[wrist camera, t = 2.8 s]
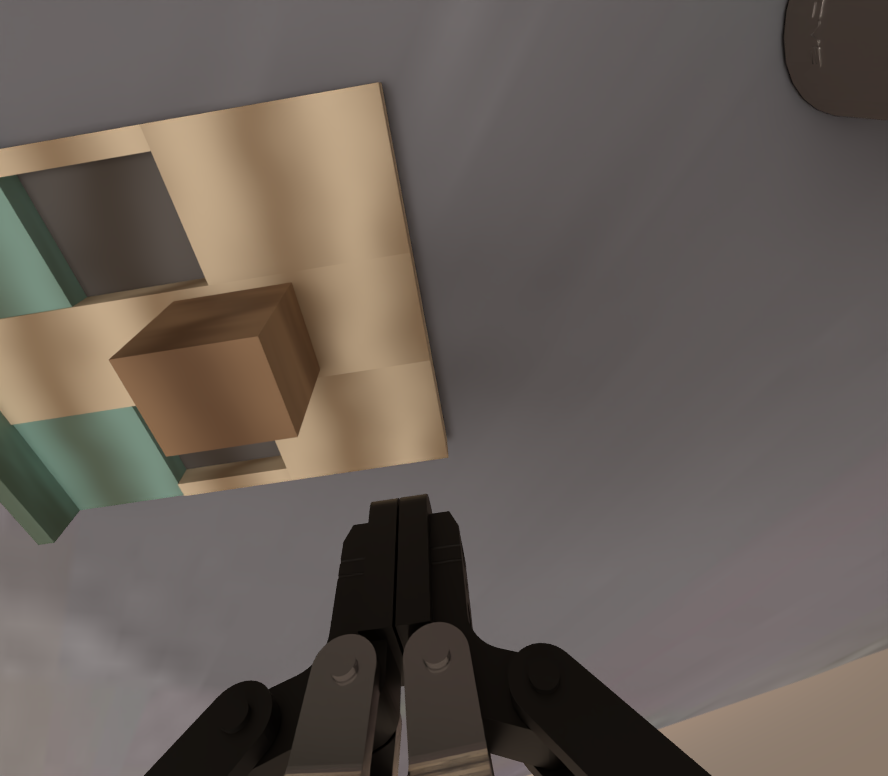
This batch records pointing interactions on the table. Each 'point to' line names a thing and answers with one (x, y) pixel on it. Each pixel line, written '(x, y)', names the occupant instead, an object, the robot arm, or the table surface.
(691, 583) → the table surface
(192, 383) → the walnut block
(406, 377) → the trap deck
